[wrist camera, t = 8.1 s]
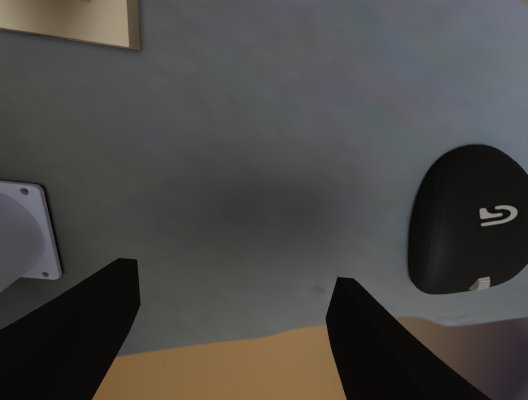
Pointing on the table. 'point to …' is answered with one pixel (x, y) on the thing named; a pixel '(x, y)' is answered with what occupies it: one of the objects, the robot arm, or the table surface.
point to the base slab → (75, 20)
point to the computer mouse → (469, 222)
